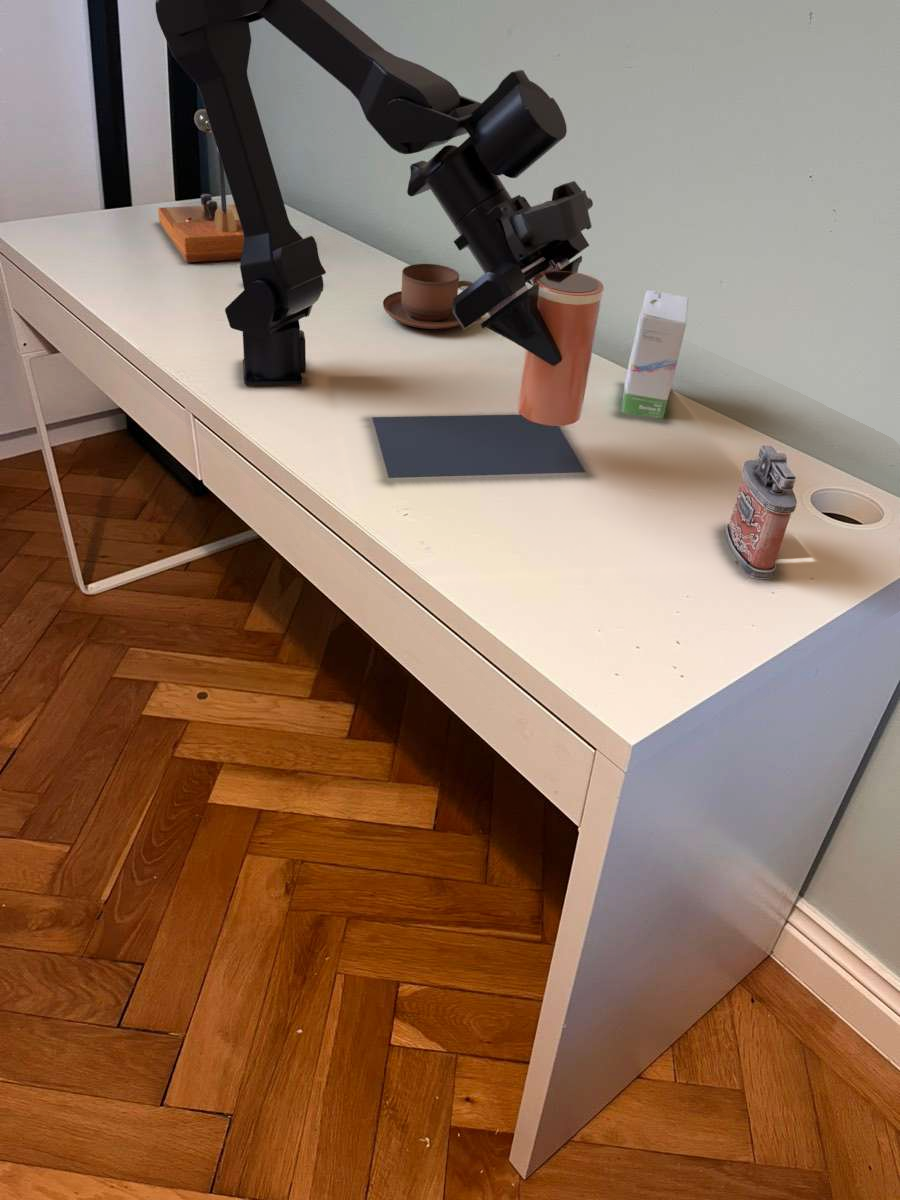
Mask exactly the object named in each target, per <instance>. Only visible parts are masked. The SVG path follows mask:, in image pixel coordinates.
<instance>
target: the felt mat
mask: <svg viewBox="0 0 900 1200" xmlns="http://www.w3.org/2000/svg"><path fill="white" fill-rule="evenodd" d="M371 418H372V423H373V426H374V431H375V434H376V437H377V441H378V444H379V448H380V452H381V455H382V459H383V463H384V467H385V470H386V474H387V477H388V479H399V478H401V479H402V478H434V477H440V478H441V477H472V476H473V477H474V476H476V477H477V476H506V475H507V476H508V475H541V474H542V475H543V474H575V473H578V474H579V473H586V470H585V468H584V467H583V465H582V463H581V462H580V460H579V458H578V457H577V455H576V454H575V452H574V449H573V448H572V447H571V445H570V443H569V442H568V440H567V438H566V436H565V435H564V433H563V431H562V430H561V428H560V426H549V425H543V424H538V423H535V422H532V421H530V420H528V419H526V418H524V417H523V416H522V415H521V414H485V415H483V414H482V415H481V414H480V415H479V414H478V415H423V416H422V415H420V416H417V415H416V416H372V417H371Z"/></svg>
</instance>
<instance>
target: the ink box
mask: <svg viewBox="0 0 900 1200" xmlns="http://www.w3.org/2000/svg"><path fill="white" fill-rule="evenodd" d="M688 309H689V297H688V296H683V295H677V294H671V293H667V292H662V291H661V292H660V291H657V290H656V291H655V290H647V291H645V294H644V298H643V302H642V305H641V310H640V313H639V316H638V322H637V326H636V330H635V334H634V339H633V343H632V347H631V352H630V356H629V360H628V366H627V370H626V375H625V380H624V388H623V396H622V397H623V398H622V404H621V413H622V414H627V415H632V416H633V415H634V416H641V417H646V418H647V417H648V418H655V419H664V417H665V412H666V408H667V403H668V400H669V397H670V393H671V388H672V384H673V380H674V377H675V372H676V368H677V364H678V360H679V356H680V354H681V353H680V352H681V348H682V344H683V341H684V335H685V332H686V327H687V321H688V311H689V310H688Z"/></svg>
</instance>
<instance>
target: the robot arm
mask: <svg viewBox="0 0 900 1200" xmlns="http://www.w3.org/2000/svg"><path fill="white" fill-rule="evenodd" d="M155 13H156V19H157V22H158V24H159V28H160V30H161V31H162V33H163V37H164V38H165V41H166V43H167V45H168V48H169V50H170V53H171V55H172V57H173V58H174V60H175V61H176V62H177V63H178V64H179V66H180V67H181V68H182V69H183V70H184V72H185V73H186V74H187V75H189V77H190V78H191V80H192V81H193V82H194V84H196V85H197V88H198V90H199V94H200V96H201V100H202V103H203V107H204V109H205V110H206V113H207V116H208V119H209V123H210V126H211V129H212V132H213V135H212V137H213V136H214V139H215V142H216V145H217V149H218V152H219V155H220V158H221V161H222V165H223V168H224V175H225V179H226V181H227V184H228V187H229V191H230V194H231V197H232V199H233V203H234V204H235V207H236V210H237V213H238V217H239V220H240V223H241V226H242V229H243V234H244V242H243V249H242V256H241V259H240V264H239V269H240V275H241V281H242V285H243V286H242V287H243V291H242V292H241V293H239V294H238V295H237V297H235V298H234V299H233V300H232V301H231V302H230V303H229V304H228V305H227V306H226V307H225V308H224V312H225V315H226V319H227V322H228V324H229V327H230V328H231V329H233V330H235V331H240V332H242V348H243V351H242V352H243V359H242V368H243V369H242V370H243V371H242V373H243V384H244V385H245V386H297V385H298V386H299V385H300V386H301V385H303V381H304V379H303V375H304V374H305V373H306V372H307V365H306V364H307V363H306V362H307V358H306V357H307V356H306V355H307V353H306V349H307V348H306V337H305V336H306V335H305V331H304V330H302V329H301V325H300V320H302V319H303V318H307V317H310V314H311V312H312V309H313V306H314V305H315V304H316V303H317V302H318V300H319V299H320V297H321V295H322V292H324V280H323V279H324V278H323V275H325V274H326V273H327V270H326V269H325V268H324V266H323V264H322V261H321V260H320V256H319V251H318V243H317V241H316V239H315V237H314V236H313V235H310V236H306V237H305V238H303V236H301V234H300V233H299V232H298V231H297V230H296V229H295V228H294V227H293V225H292V224H291V222H290V220H289V216H288V213H287V210H286V206H285V203H284V199H283V196H282V192H281V187H280V186H279V185H280V184H279V181H278V178H277V175H276V172H275V168H274V163H273V161H272V157H271V154H270V151H269V150H270V149H269V147H268V146H269V145H268V142H267V140H266V137H265V133H264V130H263V126H262V124H261V119H260V115H259V112H258V108H257V106H256V105H257V104H256V102H255V99H254V94H253V92H252V88H251V84H250V82H249V76H248V68H249V62H250V61H249V60H250V54H251V47H252V35H251V34H252V33H251V28H250V24H252V23H255V22H259V21H260V20H263V19H264V20H265V21H267V22H268V23H269V24H270V25H271V26H272V27H274V28H275V29H276V30H277V31H278V32H280V33H281V34H282V35H283V36H284V37H286V38H287V39H288V40H289V41H290V42H291V43H292V44H293V45H295V46H296V47H298V48H299V49H300V50H301V51H302V52H303V53H305V55H307V56H308V57H309V58H311V59H312V60H313V61H314V62H315V63H316V64H318V65H319V67H321V68H323V69H324V70H325V71H326V72H327V73H328V74H329V75H330V76H332V77H333V78H334V79H335V80H336V81H338V82H339V83H340V84H342V85H343V87H345V88H346V89H347V90H348V91H350V93H351V94H352V95H353V96H354V97H355V99H356V100H357V101H358V103H359V105H360V108H361V110H362V112H363V115H364V117H365V119H366V121H367V122H368V123H369V124H370V126H371V127H372V128H373V129H374V130H375V131H376V132H377V134H378V135H379V136H380V137H381V139H383V141H384V142H385V143H386V144H387V145H388V146H389V147H390V148H391V149H392V150H393V151H395V152H397V153H398V154H402V155H412V154H416V153H420V152H423V151H426V150H429V149H432V148H435V147H438V146H441V145H444V144H447V143H448V142H449V141H451V140H453V139H454V138H457V137H460V136H463V135H467V134H468V135H469V136H468V138H466V139H465V140H464V141H463V142H462V143H461V144H460V145H458V146H456V145H453V144H447V145H445V146H443V147H442V148H440V150H438V152H436V154H434V155H433V157H431V158H430V159H429V160H428V161H425V160H420V161H417V162H414V163H411V164H410V166H409V169H410V175H409V181H408V185H407V189H406V194H407V195H408V196H409V197H414V196H417V195H420V194H422V193H425V192H427V191H429V190H430V191H431V192H432V194H433V195H434V197H435V198H436V201H438V204H440V207H441V208H442V210H443V211H444V213H445V214H446V215H447V217H448V219H449V220H450V222H451V223H452V225H453V226H454V228H455V230H456V231H457V233H458V234H459V236H458V237H457V238H456V239H454V240H453V243H454V245H455V247H457V250H458V251H459V252H460V251H462V250H464V249H466V248H468V250H469V251H470V253H471V254H472V256H473V258H474V260H476V262H477V264H478V265H479V267H480V268H481V271H482V272H483V273H484V274H482V275H481V276H480V277H479V278H478V279H476V280H475V281H474V282H472V284H471V285H470V286H469V287H468V286H466V288H465V289H463V290H462V291H461V292H460V293H458V294H457V296H456V297H454V299H453V311H452V313H453V314H454V316H455V317H456V319H457V320H458V322H459V323H460V325H459V326H460V327H461V328H462V329H463V330H466V329H467V328H469V327H470V326H471V327H472V325H474V324H475V323H477V322H478V321H480V320H481V319H482V317H484V316H485V315H486V314H487V315H488V316H489V317H488V318H486V320H484V321H482V322H481V323H479V326H480V328H481V329H482V330H484V329H488V330H490V331H492V332H494V333H496V334H498V335H500V336H501V337H504V338H505V339H507V340H509V341H511V342H512V343H515V344H516V345H518V346H519V347H521V348H523V349H524V350H525V349H526V350H528V351H529V352H531V353H533V354H534V355H536V356H537V357H539V358H541V359H542V360H544V361H545V362H547V363H549V364H550V365H552V366H555V365H557V364H558V363H560V362H561V361H562V356H561V354H560V352H559V349H558V347H557V345H556V343H555V341H554V339H553V337H552V335H551V333H550V331H549V329H548V327H547V325H546V323H545V321H544V319H543V317H542V315H541V313H540V311H539V309H538V306H537V303H538V292H539V283H538V284H536V285H534V286H533V281H534V278H535V276H536V275H538V274H540V273H543V272H548V271H569V272H576V273H579V267H580V265H581V264H582V261H583V256H582V255H580V256H578V257H576V256H577V255H579V254H580V253H582V252H583V251H584V250H585V249H587V248H588V247H590V243H589V242H588V240H587V239H586V237H585V235H584V234H583V232H582V231H584V230H590V229H592V221H591V217H590V214H589V210H590V209H591V208H592V207H593V206H594V201H593V199H592V198H590V197H589V196H588V195H587V191H586V190H582V188H581V187H580V186H579V185H578V183H577V182H576V180H573V181H569V182H566V183H562V184H560V185H558V186H556V187H554V188H553V191H552V195H551V200H547V201H544V202H542V203H540V204H535V205H533V206H531V204H530V203H529V202H528V200H527V199H526V197H524V196H523V195H522V196H521V194H518V195H516V196H514V197H512V196H511V195H510V193H509V192H508V190H507V189H506V187H505V185H504V184H503V183H502V181H501V179H500V178H499V177H500V176H504V177H506V178H509V179H517V178H518V177H520V176H521V175H522V174H523V173H524V172H525V171H527V170H528V169H529V168H530V167H531V166H533V165H534V164H535V163H536V162H537V161H539V160H540V159H541V158H542V157H543V156H544V155H545V154H546V153H548V152H549V151H550V150H552V149H553V148H554V147H555V146H556V145H557V144H558V143H560V142H561V141H562V140H563V139H565V137H566V136H567V131H568V130H567V122H566V119H565V117H564V113H563V111H562V110H561V108H560V106H559V104H558V103H557V100H556V99H555V98H554V97H550V96H549V94H548V93H547V92H546V91H545V89H543V88H542V87H540V85H539V84H537V83H535V82H534V81H531V80H530V79H529V77H528V75H527V74H526V72H525V71H524V70H523V69H518V70H514V71H511V72H509V74H507V75H506V77H504V78H503V79H502V81H501V82H500V83H499V85H498V86H497V88H495V90H494V91H493V92H492V93H491V94H490V95H488V97H487V98H485V99H484V100H483V101H482V102H479V101H477V100H474V99H473V98H468V97H466V96H464V95H461V94H460V93H459V92H458V89H457V88H456V87H455V85H453V84H452V82H450V81H449V80H448V79H446V78H444V77H442V76H441V75H440V74H437V73H435V72H434V71H432V70H430V69H428V68H426V67H425V66H423V65H421V64H419V63H416V62H413V61H410V60H408V59H405V58H402V57H399V56H397V55H395V54H393V53H392V52H389V51H388V50H386V49H385V48H383V46H381V45H380V44H379V43H378V42H376V41H375V40H374V39H372V38H371V37H370V36H369V35H368V34H367V33H366V32H364V31H363V30H362V29H360V28H359V27H358V26H357V25H356V24H355V23H353V22H352V21H351V20H350V19H349V18H348V17H346V16H345V15H344V14H343V13H341V12H340V11H339V10H338V9H337V8H335V6H333V5H331V3H330V2H329V1H327V0H155ZM214 139H213V140H214ZM215 142H214V143H215ZM575 257H576V258H575ZM573 258H575V259H573ZM572 259H573V260H572ZM571 260H572V261H571ZM527 283H528V284H529V285H531V287H530V288H529V287H528V286H527Z"/></svg>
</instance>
